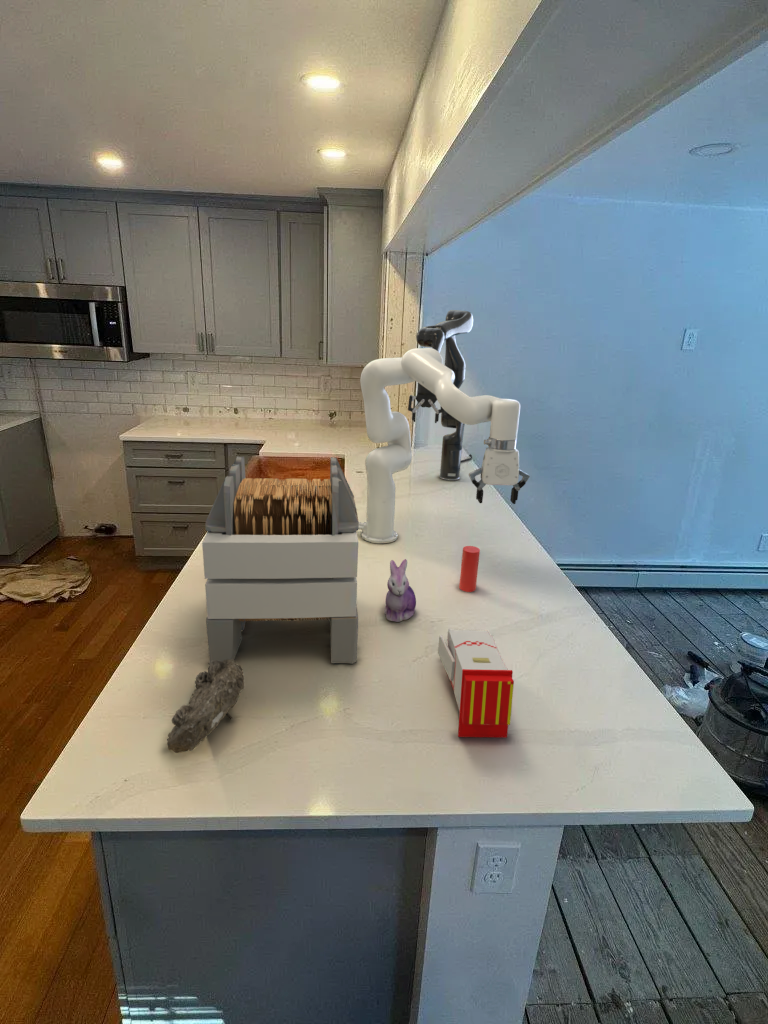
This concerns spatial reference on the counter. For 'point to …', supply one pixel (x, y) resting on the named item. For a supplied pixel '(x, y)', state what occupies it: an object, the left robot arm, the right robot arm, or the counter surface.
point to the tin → (469, 568)
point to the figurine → (399, 594)
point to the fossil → (206, 705)
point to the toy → (478, 682)
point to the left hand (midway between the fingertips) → (496, 502)
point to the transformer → (281, 558)
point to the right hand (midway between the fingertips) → (424, 422)
